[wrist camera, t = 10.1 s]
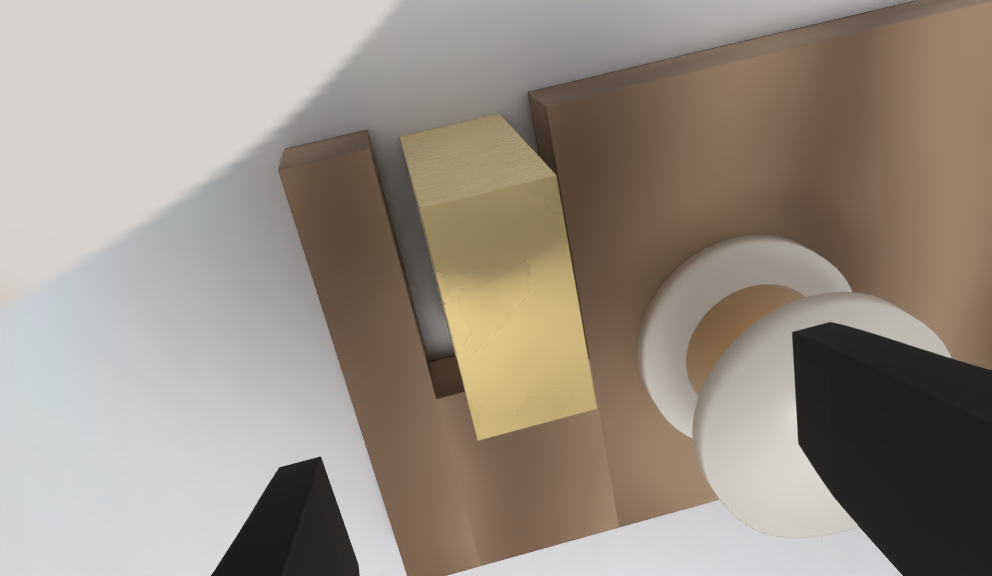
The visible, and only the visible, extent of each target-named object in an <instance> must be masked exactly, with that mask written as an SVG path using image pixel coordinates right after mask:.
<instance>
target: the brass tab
mask: <svg viewBox="0 0 992 576" xmlns="http://www.w3.org/2000/svg"><path fill="white" fill-rule="evenodd" d="M400 140H401V144H402V148H403V152H404V156H405V160H406V164H407V168H408V172H409V176H410V180H411V184H412V188H413V192H414V196H415V200H416V204H417V208H418V212H419V216H420V220H421V224H422V228H423V232H424V236H425V240H426V244H427V248H428V252H429V256H430V260H431V264H432V268H433V272H434V276H435V280H436V284H437V288H438V292H439V296H440V300H441V304H442V308H443V312H444V316H445V320H446V323H447V327H448V331H449V335H450V338H451V342H452V346H453V350H454V353H455V357H456V361H457V365H458V368H459V372H460V376H461V380H462V383H463V387H464V391H465V395H466V398H467V402H468V406H469V410H470V413H471V417H472V421H473V424H474V428H475V432H476V436H477V439H478V440H482V439H486V438H490V437H493V436H497V435H501V434H505V433H508V432H512V431H516V430H519V429H523V428H527V427H531V426H534V425H538V424H542V423H546V422H549V421H553V420H557V419H561V418H564V417H568V416H572V415H576V414H579V413H583V412H587V411H591V410H594V409H597V406H596V400H595V394H594V389H593V383H592V377H591V371H590V366H589V360H588V354H587V348H586V343H585V337H584V331H583V325H582V320H581V314H580V308H579V302H578V297H577V291H576V285H575V279H574V274H573V268H572V262H571V256H570V251H569V245H568V239H567V233H566V228H565V222H564V216H563V210H562V205H561V199H560V193H559V187H558V182H557V176H556V174H555V173H554V172H553V171H552V170H551V169H550V168H549V167H548V166H547V165H546V163H545V162H544V161H543V160H542V159H541V158H540V157H539V156H538V155H537V154H536V153H535V151H534V150H533V149H532V148H531V147H530V146H529V145H528V144H527V143H526V142H525V141H524V140H523V138H522V137H521V136H520V135H519V134H518V133H517V132H516V131H515V130H514V129H513V128H512V126H511V125H510V124H509V123H508V122H507V121H506V120H505V119H504V118H503V117H502V116H501V114H500V113H498V114H494V115H490V116H486V117H481V118H477V119H473V120H469V121H464V122H460V123H456V124H452V125H448V126H443V127H439V128H435V129H431V130H426V131H422V132H418V133H414V134H410V135H405V136H401V137H400Z"/></svg>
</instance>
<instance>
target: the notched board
mask: <svg viewBox="0 0 992 576" xmlns="http://www.w3.org/2000/svg"><path fill="white" fill-rule="evenodd" d="M528 95H529V100H530V106H531V111H532V117H533V122H534V128H535V133H536V139H537V144H538V150H539V156H540V158H541V159H542V160H543V161H544V162H545V163H546V165H547V166H548V167H549V168H550V169H551V170H552V171H553V172H554V173H555V174H556V176H557V182H558V187H559V193H560V199H561V205H562V210H563V216H564V222H565V228H566V233H567V239H568V245H569V251H570V256H571V262H572V268H573V274H574V279H575V285H576V291H577V297H578V302H579V308H580V314H581V320H582V325H583V331H584V337H585V343H586V348H587V354H588V360H589V366H590V371H591V377H592V383H593V389H594V394H595V400H596V406H597V409H594V410H591V411H587V412H583V413H579V414H576V415H572V416H568V417H564V418H561V419H557V420H553V421H549V422H546V423H542V424H538V425H534V426H531V427H527V428H523V429H519V430H516V431H512V432H508V433H505V434H501V435H497V436H493V437H490V438H486V439H482V440H478V439H477V436H476V432H475V428H474V424H473V421H472V417H471V413H470V410H469V406H468V402H467V398H466V395H465V391H464V387H463V383H462V380H461V376H460V372H459V368H458V365H457V361H456V357H455V356H452V357H448V358H444V359H440V360H436V361H432V362H429V361H428V357H427V354H426V350H425V346H424V342H423V339H422V335H421V331H420V327H419V323H418V320H417V316H416V312H415V308H414V305H413V301H412V297H411V293H410V290H409V286H408V282H407V278H406V275H405V271H404V267H403V263H402V260H401V256H400V252H399V248H398V245H397V241H396V237H395V233H394V230H393V226H392V222H391V218H390V215H389V211H388V207H387V203H386V200H385V196H384V192H383V188H382V185H381V181H380V177H379V173H378V169H377V166H376V162H375V158H374V154H373V151H372V147H371V143H370V139H369V136H368V132H367V130H365V131H361V132H357V133H352V134H348V135H344V136H340V137H336V138H331V139H327V140H323V141H319V142H314V143H310V144H306V145H302V146H297V147H293V148H289V149H285V150H284V153H283V157H282V160H281V163H280V167H279V170H278V171H279V174H280V177H281V180H282V183H283V187H284V190H285V193H286V196H287V199H288V202H289V205H290V209H291V212H292V215H293V218H294V221H295V224H296V227H297V231H298V234H299V237H300V240H301V243H302V246H303V250H304V253H305V256H306V259H307V262H308V265H309V268H310V272H311V275H312V278H313V281H314V284H315V287H316V290H317V294H318V297H319V300H320V303H321V306H322V309H323V312H324V316H325V319H326V322H327V325H328V328H329V331H330V334H331V338H332V341H333V344H334V347H335V350H336V353H337V356H338V360H339V363H340V366H341V369H342V372H343V375H344V378H345V382H346V385H347V388H348V391H349V394H350V397H351V401H352V404H353V407H354V410H355V413H356V416H357V419H358V423H359V426H360V429H361V432H362V435H363V438H364V441H365V445H366V448H367V451H368V454H369V457H370V460H371V463H372V467H373V470H374V473H375V476H376V479H377V482H378V485H379V489H380V492H381V495H382V498H383V501H384V504H385V507H386V511H387V514H388V517H389V520H390V523H391V526H392V530H393V533H394V536H395V539H396V542H397V545H398V548H399V552H400V555H401V558H402V561H403V564H404V567H405V570H406V574H407V576H447V575H450V574H454V573H457V572H461V571H465V570H468V569H472V568H475V567H479V566H482V565H486V564H490V563H493V562H497V561H500V560H504V559H508V558H511V557H515V556H518V555H522V554H526V553H529V552H533V551H536V550H540V549H543V548H547V547H551V546H554V545H558V544H561V543H565V542H569V541H572V540H576V539H579V538H583V537H587V536H590V535H594V534H597V533H601V532H604V531H608V530H612V529H615V528H619V527H622V526H626V525H630V524H633V523H637V522H640V521H644V520H648V519H651V518H655V517H658V516H662V515H665V514H669V513H673V512H676V511H680V510H683V509H687V508H691V507H694V506H698V505H701V504H705V503H709V502H712V501H716V500H719V498H718V496H717V495H716V493H715V492H714V490H713V489H712V487H711V486H710V485H709V483H708V482H707V480H706V478H705V477H704V475H703V473H702V471H701V470H700V467H699V465H698V462H697V459H696V456H695V451H694V446H693V438H691V437H689V436H687V435H685V434H684V433H682V432H680V431H679V430H677V429H676V428H675V427H674V426H673V425H672V424H670V423H669V422H668V421H667V419H666V418H665V417H664V416H663V414H662V413H661V412H660V410H659V409H658V407H657V406H656V404H655V403H654V401H653V400H652V399H651V397H650V395H649V394H648V392H647V390H646V389H645V387H644V384H643V382H642V379H641V377H640V373H639V368H638V363H637V341H638V334H639V330H640V325H641V322H642V319H643V317H644V314H645V311H646V309H647V307H648V305H649V303H650V301H651V299H652V298H653V296H654V295H655V293H656V292H657V290H658V288H659V287H660V286H661V285H662V283H663V282H664V281H665V280H666V279H667V277H668V276H669V275H670V274H671V273H672V272H673V271H674V270H675V269H676V268H677V267H679V266H680V265H681V264H682V263H683V262H685V261H686V260H687V259H689V258H690V257H691V256H693V255H695V254H696V253H698V252H699V251H701V250H703V249H704V248H707V247H709V246H711V245H713V244H715V243H718V242H721V241H724V240H727V239H730V238H734V237H739V236H744V235H756V234H764V235H775V236H780V237H784V238H788V239H790V240H793V241H796V242H798V243H800V244H802V245H804V246H805V247H807V248H809V249H810V250H812V251H814V252H815V253H817V254H818V255H820V256H821V257H823V258H824V259H826V260H827V261H828V262H830V263H831V264H832V265H833V266H834V267H836V268H837V269H838V271H839V272H840V273H841V274H842V275H843V276H844V278H845V279H846V281H847V282H848V284H849V286H850V287H851V290H852V292H856V293H863V294H868V295H872V296H876V297H878V298H881V299H884V300H886V301H889V302H890V303H892V304H894V305H896V306H897V307H899V308H901V309H902V310H904V311H905V312H907V313H908V314H910V315H911V316H913V317H914V318H916V319H917V320H919V321H921V322H922V323H924V324H925V325H926V326H927V327H928V328H930V329H931V330H932V331H933V332H935V334H936V335H937V336H938V337H939V338H940V339H941V341H942V342H943V343H944V345H945V346H946V348H947V350H948V352H949V353H950V355H951V358H952V359H955V360H958V361H962V362H965V363H968V364H972V365H975V366H978V367H982V368H985V369H989V370H992V0H917V1H913V2H909V3H904V4H900V5H896V6H892V7H887V8H883V9H879V10H875V11H870V12H866V13H862V14H858V15H853V16H849V17H845V18H841V19H836V20H832V21H828V22H824V23H819V24H815V25H811V26H807V27H802V28H798V29H794V30H790V31H786V32H781V33H777V34H773V35H769V36H764V37H760V38H756V39H752V40H747V41H743V42H739V43H735V44H730V45H726V46H722V47H718V48H713V49H709V50H705V51H701V52H696V53H692V54H688V55H684V56H679V57H675V58H671V59H667V60H662V61H658V62H654V63H650V64H645V65H641V66H637V67H633V68H628V69H624V70H620V71H616V72H611V73H607V74H603V75H599V76H594V77H590V78H586V79H582V80H577V81H573V82H569V83H565V84H561V85H556V86H552V87H548V88H544V89H539V90H535V91H531V92H528Z"/></svg>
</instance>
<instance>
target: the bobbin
mask: <svg viewBox="0 0 992 576" xmlns="http://www.w3.org/2000/svg"><path fill="white" fill-rule="evenodd" d="M828 322H833V323H837V324H842V325H846V326H849V327H853V328H857V329H860V330H863V331H867V332H870V333H873V334H877V335H880V336H883V337H886V338H889V339H892V340H895V341H899V342H902V343H905V344H908V345H911V346H914V347H917V348H920V349H923V350H927V351H930V352H933V353H936V354H939V355H942V356H946V357H949V358H951V355H950V353H949V352H948V350H947V348H946V346H945V345H944V343H943V342H942V341H941V339H940V338H939V337H938V336H937V335H936V334H935V332H933V331H932V330H931V329H930V328H928V327H927V326H926V325H925V324H924V323H922V322H921V321H919V320H917V319H916V318H914V317H913V316H911V315H910V314H908V313H907V312H905V311H904V310H902V309H901V308H899V307H897V306H896V305H894V304H892V303H890V302H889V301H886V300H884V299H881V298H878V297H876V296H872V295H868V294H863V293H856V292H852V290H851V287H850V286H849V284H848V282H847V281H846V279H845V278H844V276H843V275H842V274H841V273H840V272H839V271H838V269H837V268H836V267H834V266H833V265H832V264H831V263H830V262H828V261H827V260H826V259H824V258H823V257H821V256H820V255H818V254H817V253H815V252H814V251H812V250H810V249H809V248H807V247H805V246H804V245H802V244H800V243H798V242H796V241H793V240H790V239H788V238H784V237H780V236H775V235H764V234H756V235H744V236H739V237H734V238H730V239H727V240H724V241H721V242H718V243H715V244H713V245H711V246H709V247H707V248H704V249H703V250H701V251H699V252H698V253H696V254H695V255H693V256H691V257H690V258H689V259H687V260H686V261H685V262H683V263H682V264H681V265H680V266H679V267H677V268H676V269H675V270H674V271H673V272H672V273H671V274H670V275H669V276H668V277H667V279H666V280H665V281H664V282H663V283H662V285H661V286H660V287H659V288H658V290H657V292H656V293H655V295H654V296H653V298H652V299H651V301H650V303H649V305H648V307H647V309H646V311H645V314H644V317H643V319H642V322H641V325H640V330H639V334H638V341H637V363H638V368H639V373H640V377H641V379H642V382H643V384H644V387H645V389H646V390H647V392H648V394H649V395H650V397H651V399H652V400H653V401H654V403H655V404H656V406H657V407H658V409H659V410H660V412H661V413H662V414H663V416H664V417H665V418H666V419H667V421H668V422H669V423H670V424H672V425H673V426H674V427H675V428H676V429H677V430H679V431H680V432H682V433H684V434H685V435H687V436H689V437H691V438H693V446H694V451H695V456H696V459H697V462H698V465H699V467H700V470H701V471H702V473H703V475H704V477H705V478H706V480H707V482H708V483H709V485H710V486H711V487H712V489H713V490H714V492H715V493H716V495H717V496H718V498H719V499H720V501H721V502H722V504H723V505H724V506H725V507H726V508H727V510H728V511H729V512H730V513H731V514H732V515H733V516H735V517H736V518H737V519H738V520H739V521H740V522H742V523H744V524H745V525H747V526H749V527H750V528H752V529H755V530H757V531H759V532H762V533H764V534H768V535H772V536H776V537H783V538H791V539H807V538H816V537H823V536H828V535H832V534H836V533H840V532H843V531H846V530H849V529H852V528H854V527H856V526H858V525H857V524H856V522H855V521H854V520H853V519H852V518H851V517H850V516H849V514H848V513H847V512H846V511H845V510H844V509H843V508H842V506H841V505H840V504H839V503H838V502H837V501H836V499H835V498H834V497H833V496H832V494H831V493H830V491H829V490H828V488H827V487H826V485H825V484H824V483H823V481H822V480H821V478H820V477H819V475H818V474H817V472H816V471H815V469H814V468H813V466H812V465H811V463H810V461H809V460H808V458H807V457H806V455H805V454H804V452H803V451H802V449H801V447H800V446H799V444H798V432H797V414H796V396H795V378H794V360H793V343H792V332H794V331H798V330H801V329H805V328H809V327H813V326H817V325H820V324H824V323H828Z"/></svg>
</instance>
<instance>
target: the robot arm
mask: <svg viewBox="0 0 992 576" xmlns="http://www.w3.org/2000/svg"><path fill="white" fill-rule="evenodd" d="M792 343H793V360H794V378H795V396H796V414H797V432H798V444H799V446H800V447H801V449H802V451H803V452H804V454H805V455H806V457H807V458H808V460H809V461H810V463H811V465H812V466H813V468H814V469H815V471H816V472H817V474H818V475H819V477H820V478H821V480H822V481H823V483H824V484H825V485H826V487H827V488H828V490H829V491H830V493H831V494H832V496H833V497H834V498H835V499H836V501H837V502H838V503H839V504H840V505H841V506H842V508H843V509H844V510H845V511H846V512H847V513H848V514H849V516H850V517H851V518H852V519H853V520H854V521H855V522H856V524H857V525H858V526H859V527H860V528H861V529H862V530H863V532H864V533H865V534H866V535H867V536H868V537H869V538H870V539H871V541H872V542H873V543H874V544H875V545H876V546H877V547H878V548H879V550H880V551H881V552H882V553H883V554H884V555H885V556H886V557H887V558H888V560H889V561H890V562H891V563H892V564H893V565H894V566H895V567H896V569H897V570H898V571H899V572H900V573H901V574H902V575H903V576H992V370H989V369H985V368H982V367H978V366H975V365H972V364H968V363H965V362H962V361H958V360H955V359H952V358H949V357H946V356H942V355H939V354H936V353H933V352H930V351H927V350H923V349H920V348H917V347H914V346H911V345H908V344H905V343H902V342H899V341H895V340H892V339H889V338H886V337H883V336H880V335H877V334H873V333H870V332H867V331H863V330H860V329H857V328H853V327H849V326H846V325H842V324H837V323H833V322H828V323H824V324H820V325H817V326H813V327H809V328H805V329H801V330H798V331H794V332H792ZM211 576H360V575H359V566H358V562H357V559H356V556H355V553H354V551H353V548H352V545H351V542H350V539H349V536H348V533H347V530H346V528H345V525H344V522H343V519H342V516H341V513H340V510H339V507H338V505H337V502H336V499H335V496H334V493H333V490H332V487H331V484H330V481H329V479H328V476H327V473H326V470H325V467H324V464H323V461H322V458H321V457H317V458H313V459H310V460H306V461H302V462H298V463H294V464H291V465H287V466H283V467H279V469H278V470H277V472H276V473H275V475H274V477H273V478H272V480H271V481H270V483H269V484H268V486H267V487H266V489H265V491H264V492H263V494H262V496H261V497H260V499H259V501H258V502H257V504H256V506H255V507H254V509H253V511H252V512H251V514H250V516H249V517H248V519H247V520H246V522H245V524H244V525H243V527H242V529H241V530H240V532H239V533H238V535H237V537H236V538H235V540H234V541H233V543H232V544H231V546H230V547H229V549H228V550H227V552H226V554H225V555H224V557H223V558H222V560H221V561H220V563H219V564H218V566H217V568H216V569H215V571H214V572H213V573H212V575H211Z"/></svg>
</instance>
